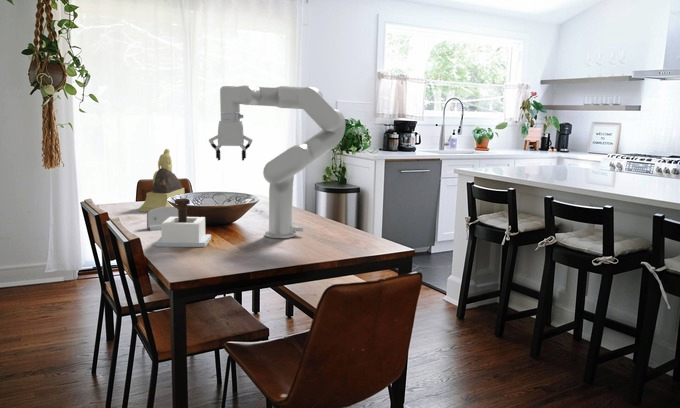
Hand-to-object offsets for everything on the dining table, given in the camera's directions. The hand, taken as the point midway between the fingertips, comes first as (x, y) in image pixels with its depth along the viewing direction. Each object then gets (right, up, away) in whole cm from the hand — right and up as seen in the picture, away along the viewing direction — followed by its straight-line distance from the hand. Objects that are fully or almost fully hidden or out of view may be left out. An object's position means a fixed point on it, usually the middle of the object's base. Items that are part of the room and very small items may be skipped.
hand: (231, 160), depth 220 cm
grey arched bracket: (-30, -28, +12) cm, 43 cm away
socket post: (-15, -32, -13) cm, 38 cm away
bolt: (-16, -31, -13) cm, 37 cm away
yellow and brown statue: (-46, -20, +58) cm, 77 cm away
